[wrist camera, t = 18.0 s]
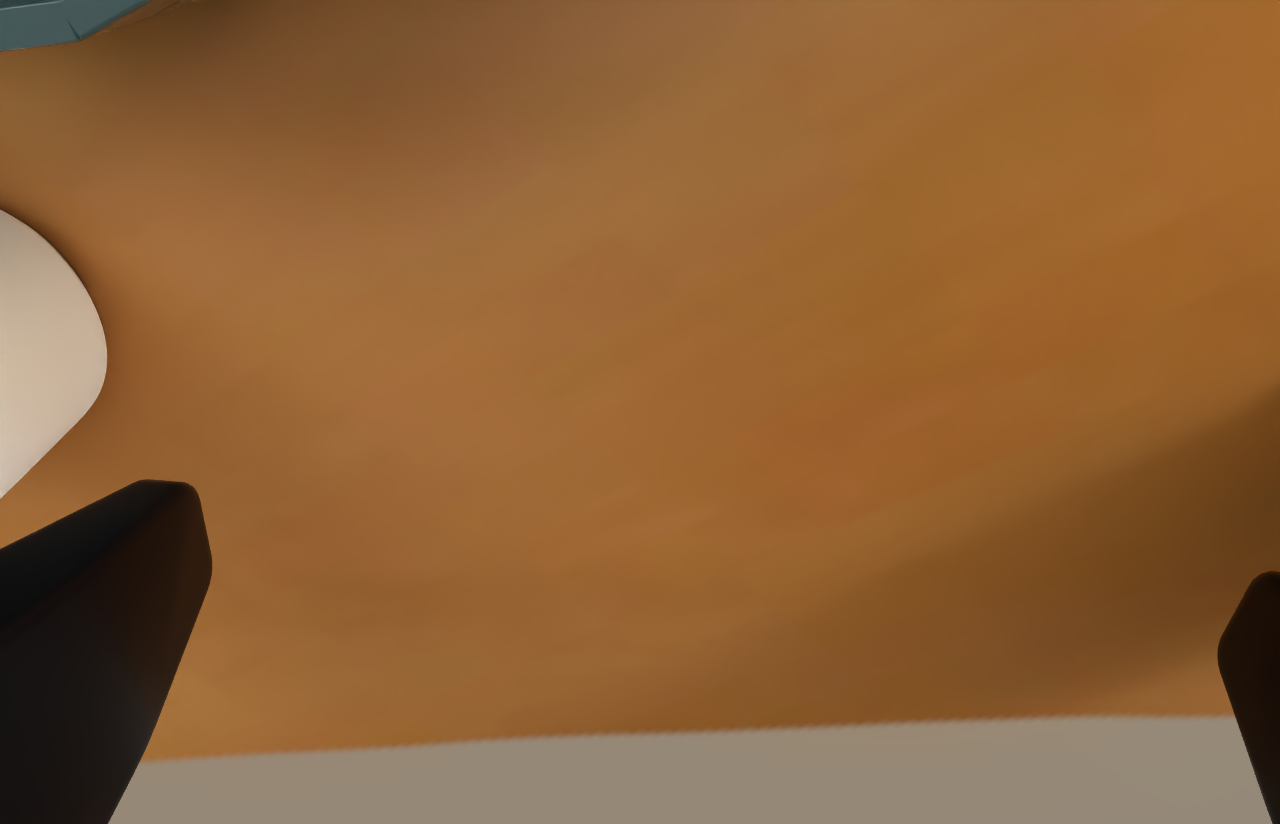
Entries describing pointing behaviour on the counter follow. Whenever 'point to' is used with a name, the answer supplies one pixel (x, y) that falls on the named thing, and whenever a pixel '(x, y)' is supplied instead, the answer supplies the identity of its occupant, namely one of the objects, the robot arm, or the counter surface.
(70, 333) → the can
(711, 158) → the counter surface
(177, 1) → the bowl
